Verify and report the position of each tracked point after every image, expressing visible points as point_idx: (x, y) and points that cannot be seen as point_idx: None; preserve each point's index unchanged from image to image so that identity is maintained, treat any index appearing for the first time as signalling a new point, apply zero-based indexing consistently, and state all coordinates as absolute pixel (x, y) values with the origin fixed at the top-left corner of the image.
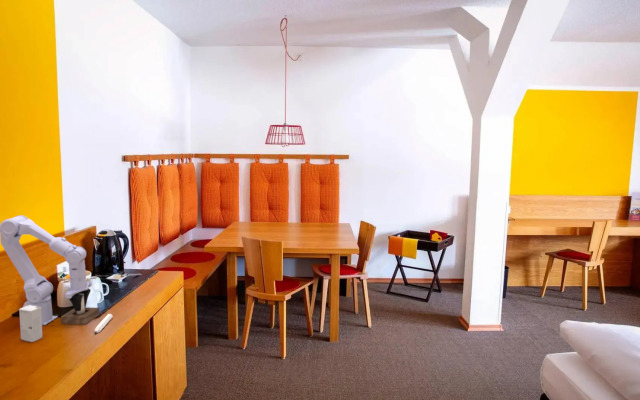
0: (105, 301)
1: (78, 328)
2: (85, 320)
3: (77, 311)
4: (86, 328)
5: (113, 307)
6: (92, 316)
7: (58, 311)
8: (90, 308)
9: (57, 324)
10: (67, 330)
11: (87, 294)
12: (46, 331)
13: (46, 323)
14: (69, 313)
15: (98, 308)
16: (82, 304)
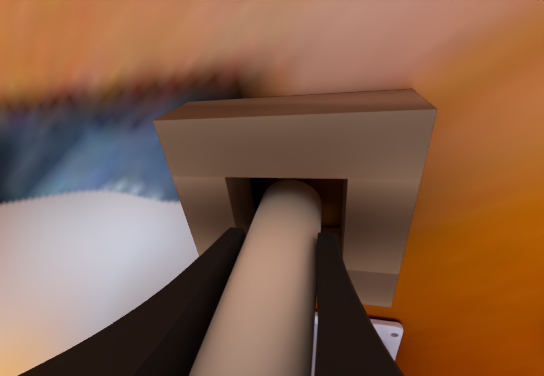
0: (31, 190)
1: (506, 103)
2: (421, 99)
3: None
4: (534, 6)
5: (44, 75)
6: (287, 103)
7: None
8: (197, 190)
9: None
10: (533, 174)
11: (129, 361)
12: (506, 289)
13: (390, 324)
14: None
15: (165, 120)
16: (286, 268)
